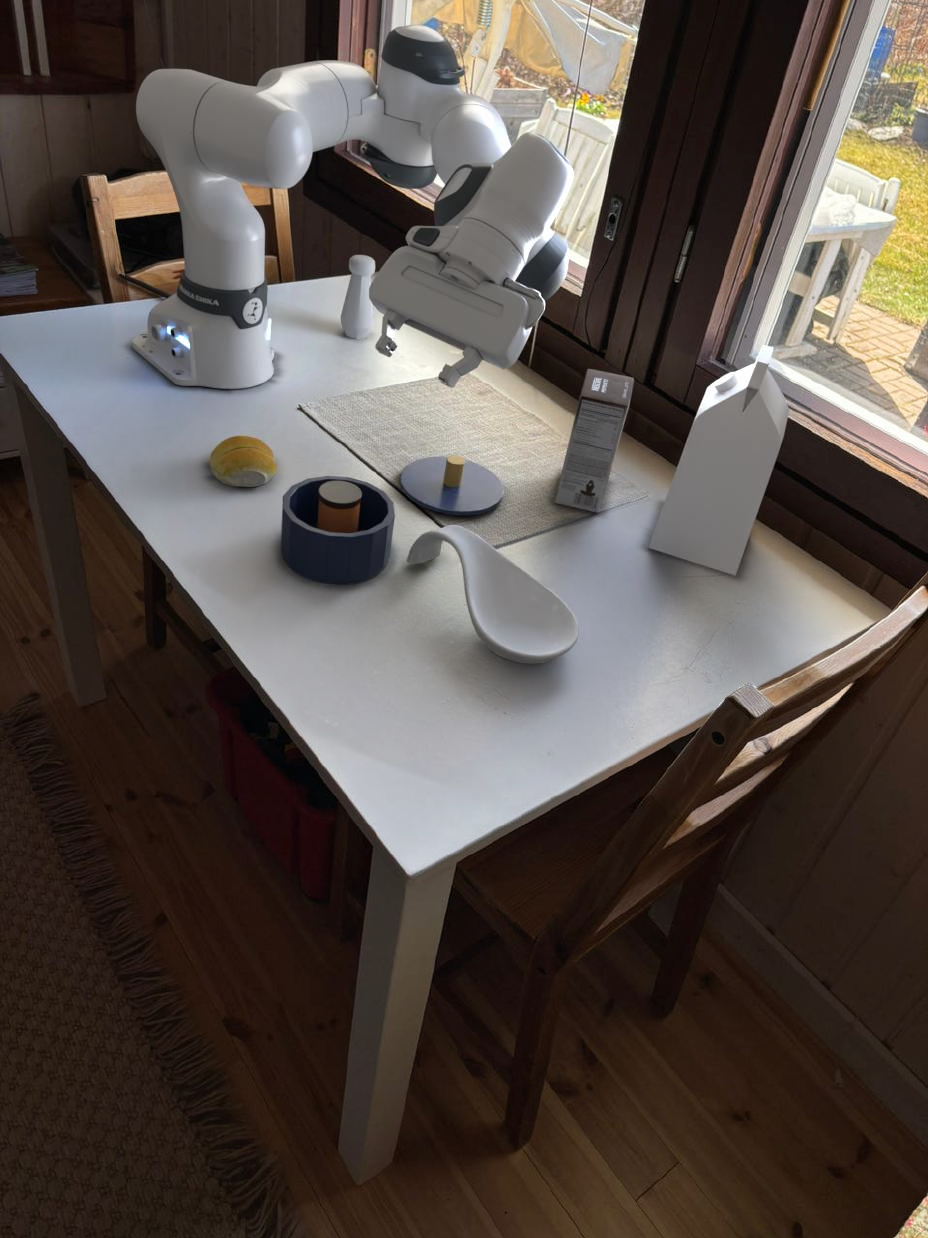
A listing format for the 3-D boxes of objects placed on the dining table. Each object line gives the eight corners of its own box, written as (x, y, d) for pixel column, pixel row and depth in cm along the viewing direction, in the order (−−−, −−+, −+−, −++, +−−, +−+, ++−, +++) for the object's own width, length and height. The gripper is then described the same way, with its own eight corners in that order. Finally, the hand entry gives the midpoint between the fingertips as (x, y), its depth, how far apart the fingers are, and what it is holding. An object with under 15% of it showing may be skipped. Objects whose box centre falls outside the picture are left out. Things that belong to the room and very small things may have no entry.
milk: (735, 575, 121) (811, 386, 105) (648, 547, 123) (709, 357, 107) (746, 530, 130) (818, 350, 114) (664, 505, 132) (724, 324, 116)
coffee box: (561, 471, 135) (587, 365, 125) (605, 482, 135) (635, 376, 125) (553, 503, 128) (580, 394, 118) (600, 514, 127) (630, 405, 118)
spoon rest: (593, 656, 104) (609, 605, 100) (515, 695, 97) (529, 642, 93) (456, 546, 117) (464, 496, 112) (378, 573, 110) (384, 522, 105)
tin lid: (377, 486, 125) (381, 454, 122) (443, 453, 134) (447, 423, 131) (459, 531, 119) (465, 500, 116) (522, 494, 129) (528, 464, 126)
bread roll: (269, 452, 127) (270, 425, 125) (279, 488, 121) (280, 460, 118) (206, 453, 125) (205, 426, 122) (212, 490, 118) (212, 461, 116)
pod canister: (306, 547, 111) (309, 489, 106) (335, 532, 114) (339, 475, 109) (336, 565, 109) (341, 508, 104) (364, 549, 112) (370, 493, 107)
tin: (258, 548, 110) (258, 500, 106) (333, 510, 119) (337, 464, 115) (337, 599, 105) (341, 550, 101) (410, 555, 114) (417, 509, 110)
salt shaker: (339, 325, 164) (344, 248, 156) (372, 328, 165) (379, 252, 157) (339, 339, 159) (345, 261, 151) (373, 342, 160) (381, 265, 152)
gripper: (559, 312, 107) (493, 415, 106) (420, 254, 115) (359, 349, 115) (545, 280, 101) (475, 389, 101) (400, 221, 110) (335, 321, 109)
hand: (412, 367), depth 108 cm, fingers open, 8 cm apart
